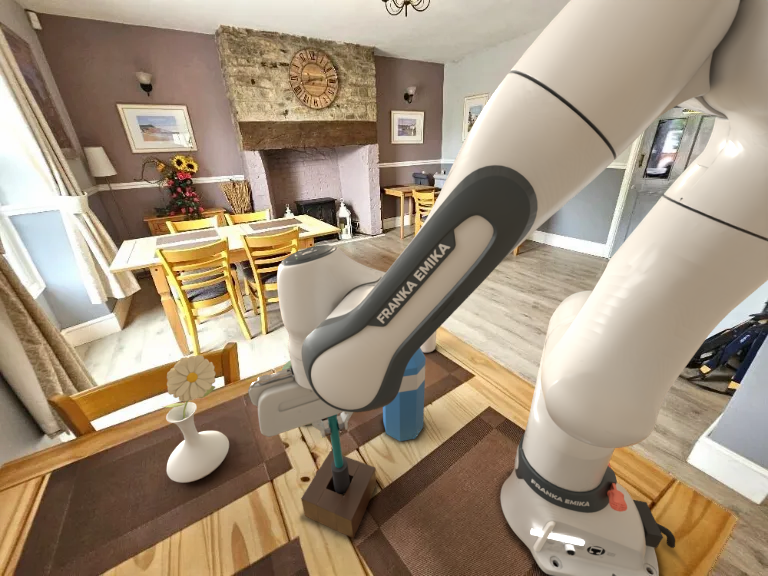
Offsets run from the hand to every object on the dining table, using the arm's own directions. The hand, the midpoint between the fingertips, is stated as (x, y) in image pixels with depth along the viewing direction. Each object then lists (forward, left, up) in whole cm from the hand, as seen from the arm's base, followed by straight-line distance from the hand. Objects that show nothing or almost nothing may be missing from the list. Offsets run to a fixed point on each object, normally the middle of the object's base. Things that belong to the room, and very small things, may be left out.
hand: (334, 430), depth 49 cm
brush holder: (0, 0, -18) cm, 18 cm away
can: (-2, -51, -18) cm, 54 cm away
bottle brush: (0, 0, -14) cm, 14 cm away
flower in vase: (+31, +3, -18) cm, 36 cm away
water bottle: (-5, -20, -18) cm, 27 cm away
